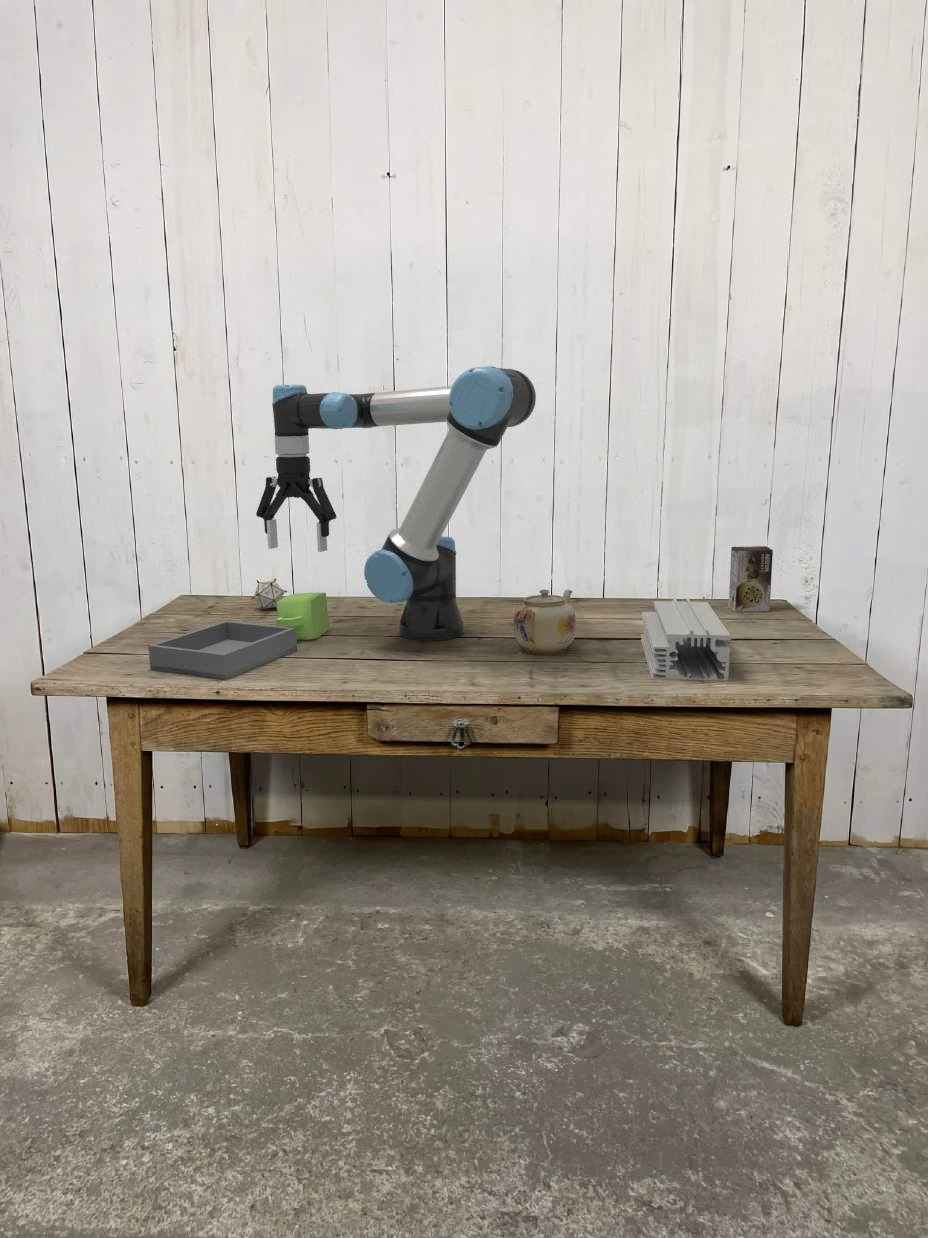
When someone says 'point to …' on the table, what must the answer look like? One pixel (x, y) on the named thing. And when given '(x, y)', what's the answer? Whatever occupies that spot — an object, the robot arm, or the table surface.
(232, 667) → the gray tray
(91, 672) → the table surface
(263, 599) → the game die
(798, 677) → the table surface
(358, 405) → the robot arm
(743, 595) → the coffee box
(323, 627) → the green handled block
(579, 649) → the table surface
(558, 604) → the teapot
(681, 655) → the aluminum extrusion profile
